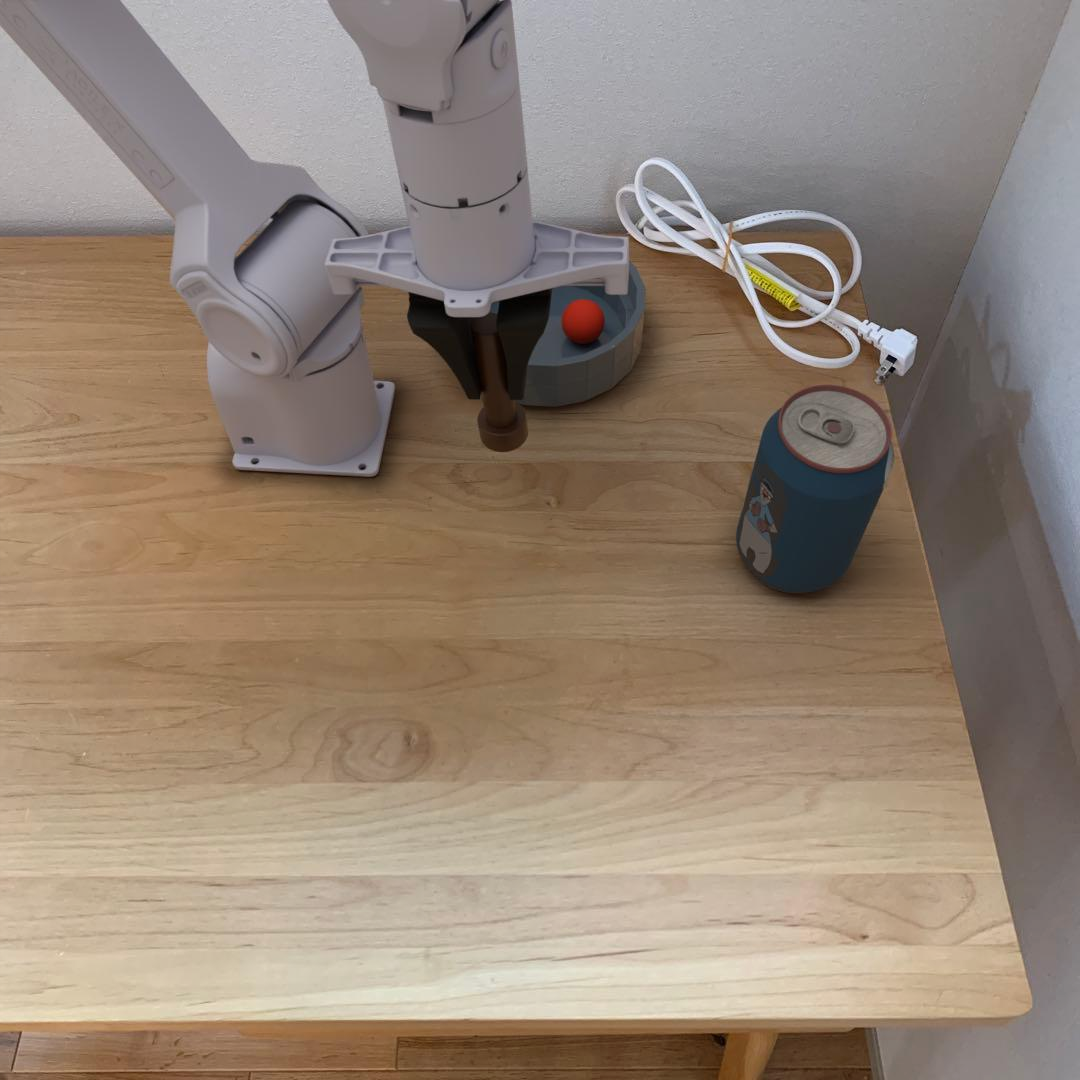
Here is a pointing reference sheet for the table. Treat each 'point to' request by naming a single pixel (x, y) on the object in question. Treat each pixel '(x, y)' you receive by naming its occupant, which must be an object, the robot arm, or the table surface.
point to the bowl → (585, 346)
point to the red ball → (583, 321)
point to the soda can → (814, 487)
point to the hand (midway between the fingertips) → (496, 386)
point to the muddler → (496, 390)
